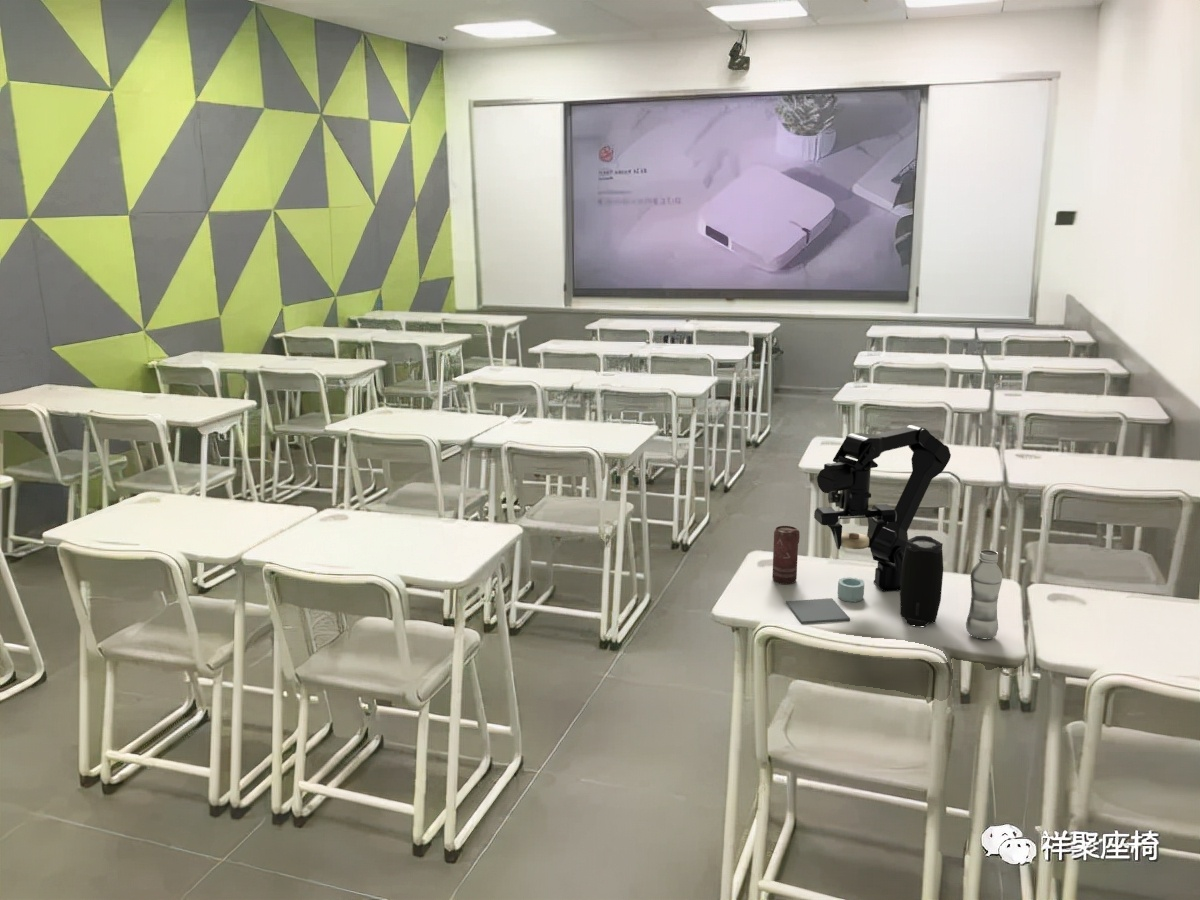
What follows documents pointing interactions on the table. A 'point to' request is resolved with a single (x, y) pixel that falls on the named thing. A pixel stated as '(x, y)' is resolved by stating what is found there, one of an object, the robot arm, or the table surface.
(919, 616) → the portable speaker
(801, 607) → the mat
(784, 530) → the can
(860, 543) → the lid
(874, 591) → the table surface
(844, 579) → the bowl
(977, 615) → the plastic bottle
